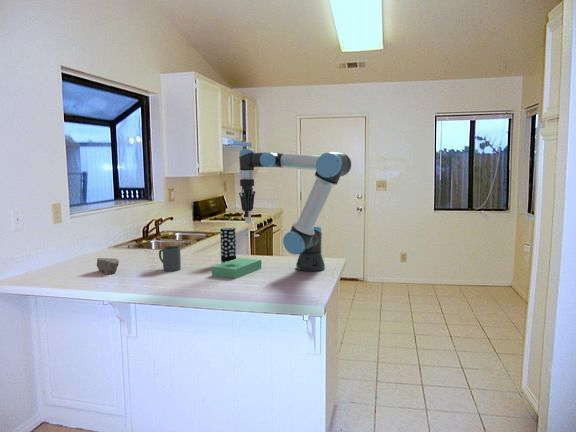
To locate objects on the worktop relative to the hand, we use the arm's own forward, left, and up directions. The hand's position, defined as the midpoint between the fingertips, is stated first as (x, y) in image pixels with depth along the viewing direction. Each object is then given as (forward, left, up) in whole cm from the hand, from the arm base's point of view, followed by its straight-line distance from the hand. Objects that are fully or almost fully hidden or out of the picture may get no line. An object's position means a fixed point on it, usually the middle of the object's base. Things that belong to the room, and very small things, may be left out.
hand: (247, 223), depth 244 cm
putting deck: (0, +11, -24) cm, 27 cm away
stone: (+61, +40, -25) cm, 77 cm away
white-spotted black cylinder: (+15, -3, -24) cm, 29 cm away
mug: (+37, +21, -25) cm, 49 cm away
